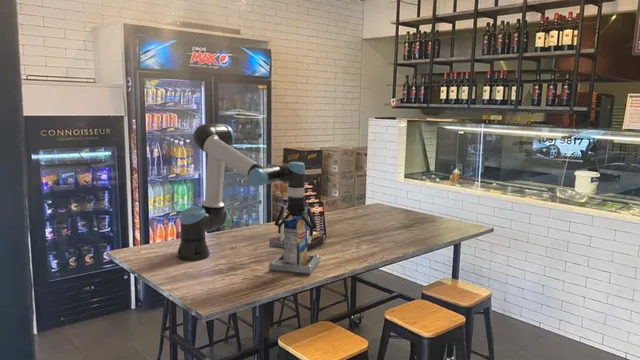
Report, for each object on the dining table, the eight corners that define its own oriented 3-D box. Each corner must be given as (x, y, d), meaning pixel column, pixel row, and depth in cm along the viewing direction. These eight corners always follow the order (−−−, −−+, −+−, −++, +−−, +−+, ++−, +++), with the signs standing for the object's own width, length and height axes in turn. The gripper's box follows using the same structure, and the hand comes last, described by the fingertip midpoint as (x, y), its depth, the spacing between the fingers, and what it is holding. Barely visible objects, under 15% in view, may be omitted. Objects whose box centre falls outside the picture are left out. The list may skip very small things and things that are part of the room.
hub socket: (269, 271, 220) (269, 262, 220) (281, 258, 239) (281, 250, 238) (310, 275, 216) (310, 266, 216) (319, 262, 235) (319, 254, 234)
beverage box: (283, 267, 224) (283, 220, 220) (293, 260, 234) (294, 215, 230) (296, 269, 221) (297, 221, 218) (306, 262, 231) (307, 216, 228)
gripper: (267, 195, 221) (267, 241, 225) (320, 199, 216) (319, 246, 220) (272, 193, 229) (272, 237, 232) (324, 196, 224) (323, 241, 227)
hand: (295, 241), depth 226 cm, fingers open, 12 cm apart
